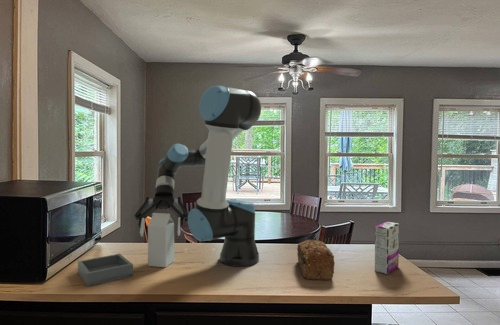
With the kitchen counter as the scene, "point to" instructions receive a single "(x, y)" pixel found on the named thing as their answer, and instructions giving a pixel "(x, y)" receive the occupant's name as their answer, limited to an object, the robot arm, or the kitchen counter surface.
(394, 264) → the candy bar box
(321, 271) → the bread
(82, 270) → the bin
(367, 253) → the kitchen counter surface
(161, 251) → the milk carton
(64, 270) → the kitchen counter surface
